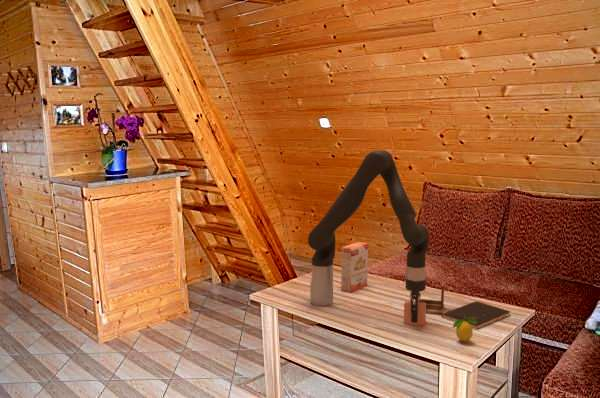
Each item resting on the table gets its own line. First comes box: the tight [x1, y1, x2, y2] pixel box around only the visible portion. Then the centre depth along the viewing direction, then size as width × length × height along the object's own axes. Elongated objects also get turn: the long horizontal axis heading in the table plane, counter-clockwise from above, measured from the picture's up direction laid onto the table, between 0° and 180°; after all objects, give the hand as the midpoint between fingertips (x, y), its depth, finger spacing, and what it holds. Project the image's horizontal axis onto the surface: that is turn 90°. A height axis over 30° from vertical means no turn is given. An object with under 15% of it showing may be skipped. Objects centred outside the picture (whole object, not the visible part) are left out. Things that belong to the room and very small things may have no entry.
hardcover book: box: [440, 300, 511, 330], centre depth 203 cm, size 16×23×2 cm
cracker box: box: [340, 241, 369, 293], centre depth 238 cm, size 14×6×21 cm, turn 139°
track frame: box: [410, 282, 445, 316], centre depth 211 cm, size 13×12×11 cm
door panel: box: [403, 300, 427, 326], centre depth 196 cm, size 8×3×8 cm, turn 74°
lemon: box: [452, 315, 477, 342], centre depth 179 cm, size 7×6×10 cm
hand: (414, 319), depth 197 cm, fingers open, 5 cm apart
